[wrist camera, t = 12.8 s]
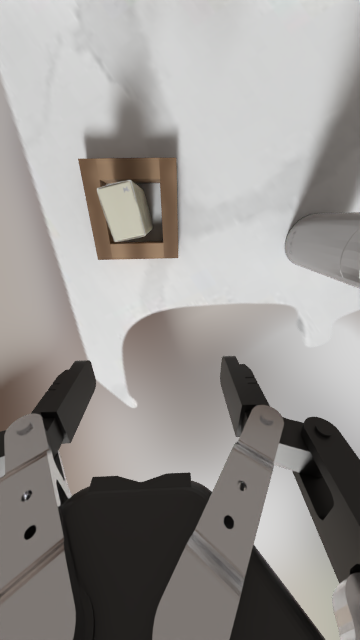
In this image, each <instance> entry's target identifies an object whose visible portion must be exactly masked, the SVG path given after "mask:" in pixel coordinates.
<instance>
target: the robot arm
mask: <svg viewBox="0 0 360 640" xmlns="http://www.w3.org/2000/svg"><path fill="white" fill-rule="evenodd" d="M285 252H286V255H287V257H288V259H289V260H290V261H291V262H292V263H294V264H296V265H298V266H301V267H304V268H306V269H309V270H311V271H314V272H317V273H319V274H322V275H325V276H327V277H330V278H333V279H335V280H338V281H341V282H343V283H346V284H349V285H351V286H354V287H357V288H360V212H352V213H319V214H311V215H308V216H306V217H303V218H302V219H301V220H299V221H298V222H297V223H296V224H295V225H294V226H293V227H292V229H291V230H290V232H289V234H288V236H287V239H286V243H285ZM220 382H221V387H222V390H223V394H224V397H225V401H226V404H227V408H228V411H229V414H230V418H231V421H232V424H233V428H234V431H235V435H236V437H240V438H239V440H238V442H237V443H235V444H234V446H233V448H232V450H231V452H230V455H229V457H228V459H227V461H226V463H225V466H224V468H223V470H222V472H221V474H220V476H219V479H218V481H217V483H216V485H215V488H214V489H213V492H211V491H210V490H209V489H208V488H206V487H205V486H203V485H201V484H199V483H197V482H194V481H191V476H190V473H171V474H164V475H161V476H159V477H156V478H153V479H150V480H147V481H144V482H137V481H133V480H129V479H126V478H122V477H119V476H107V477H93V478H92V481H91V484H90V486H89V487H87V488H85V489H82V490H81V491H79V492H77V493H76V494H74V495H73V496H72V495H71V492H70V490H69V487H68V484H67V480H66V476H65V472H64V468H63V464H62V460H61V457H60V453H59V451H58V450H59V448H60V446H61V444H64V443H71V441H72V439H73V437H74V434H75V432H76V430H77V428H78V426H79V423H80V421H81V419H82V417H83V415H84V412H85V410H86V408H87V406H88V404H89V401H90V399H91V397H92V395H93V393H94V390H95V387H96V379H95V375H94V372H93V368H92V365H91V362H90V361H89V360H87V361H75V362H74V363H73V365H72V366H71V368H70V369H69V370H65V371H64V372H63V373H61V374H60V375H59V376H58V377H57V378H56V380H55V381H54V382H53V385H51V386H50V388H49V389H48V391H47V392H46V393H45V395H44V396H43V397H42V399H41V400H40V402H39V403H38V405H37V406H36V407H35V409H34V410H33V411H32V413H31V414H28V415H25V416H23V417H21V418H19V419H18V420H16V421H15V422H13V423H12V424H11V425H10V426H9V428H8V429H7V430H5V431H2V432H0V640H325V638H324V637H323V636H322V634H321V633H320V632H319V630H318V629H317V628H316V626H315V625H314V624H313V622H312V621H311V620H310V619H309V617H308V616H307V614H306V613H305V612H304V610H303V609H302V608H301V607H300V605H299V604H298V603H297V601H296V600H295V599H294V597H293V596H292V595H291V593H290V592H289V591H288V589H287V588H286V587H285V585H284V584H283V583H282V581H281V580H280V579H279V578H278V576H277V575H276V574H275V572H274V571H273V570H272V568H271V567H270V566H269V564H268V563H267V562H266V560H265V559H264V558H263V556H262V555H261V554H260V552H259V551H258V550H257V549H256V547H255V546H254V545H253V544H254V540H255V536H256V532H257V529H258V525H259V521H260V517H261V513H262V509H263V505H264V502H265V498H266V494H267V490H268V487H269V483H270V479H271V475H272V471H273V467H274V465H277V466H279V467H283V468H286V469H289V470H292V471H293V474H294V476H295V478H296V481H297V483H298V486H299V488H300V490H301V492H302V495H303V498H304V500H305V502H306V505H307V507H308V510H309V512H310V514H311V516H312V519H313V521H314V524H315V526H316V529H317V531H318V533H319V536H320V538H321V540H322V543H323V545H324V548H325V550H326V552H327V555H328V557H329V559H330V562H331V564H332V567H333V569H334V572H335V574H336V576H337V579H338V581H339V583H340V584H339V585H338V586H336V588H335V590H334V592H333V598H332V601H333V610H334V614H335V618H336V621H337V625H338V629H339V633H340V640H360V460H359V458H358V457H357V455H356V454H355V453H354V451H353V450H352V449H351V447H350V446H349V444H348V443H347V441H346V440H345V439H344V437H343V436H342V435H341V433H340V432H339V430H338V429H337V428H336V427H335V426H333V425H332V424H331V423H330V422H328V421H326V420H324V419H322V418H318V417H309V418H307V419H306V420H305V422H304V423H302V422H298V421H293V420H289V419H286V418H284V417H282V416H281V414H280V413H279V412H278V411H277V410H275V409H274V408H272V407H270V406H269V404H268V402H267V400H266V398H265V396H264V394H263V392H262V390H261V388H260V387H259V384H258V383H257V381H256V379H255V377H254V375H253V373H252V371H251V369H249V368H248V367H247V366H246V365H245V364H239V363H238V360H237V359H236V357H235V356H223V358H222V363H221V373H220Z"/></svg>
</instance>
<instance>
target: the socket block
mask: <svg viewBox="0 0 360 640" xmlns="http://www.w3.org/2000/svg"><path fill="white" fill-rule="evenodd" d="M78 161H79V166H80V171H81V176H82V181H83V186H84V191H85V196H86V201H87V206H88V211H89V216H90V221H91V226H92V231H93V236H94V241H95V246H96V251H97V256H98V260H109V259H154V258H178V219H177V166H176V158H101V159H78ZM126 180H131V181H133V182H134V183H160V188H161V208H162V228H163V241H141V242H115V241H114V239H113V236H112V234H111V231H110V228H109V226H108V223H107V220H106V217H105V215H104V212H103V209H102V206H101V203H100V200H99V196H98V193H97V188H99V187H102V186H106V185H107V184H106V183H117V182H122V181H126Z"/></svg>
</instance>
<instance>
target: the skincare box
mask: <svg viewBox="0 0 360 640" xmlns="http://www.w3.org/2000/svg"><path fill="white" fill-rule="evenodd" d="M97 193H98V196H99V200H100V203H101V206H102V209H103V212H104V215H105V217H106V220H107V223H108V226H109V228H110V231H111V234H112V236H113V239H114V241H115V242H119V241H125V240H130V239H135V238H139V237H144V236H145V235H146V234H147V233H149V232H150V231H151V230H152V229H153V225H152V221H151V217H150V212H149V209H148V205H147V201H146V197H145V194H144V191H143V189H141V188H140V187H139V186H138V185H136V184H135V183H134V182H133V181H131V180H126V181H122V182H117V183H113V184H109V185H106V186H102V187H99V188H97Z"/></svg>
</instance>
